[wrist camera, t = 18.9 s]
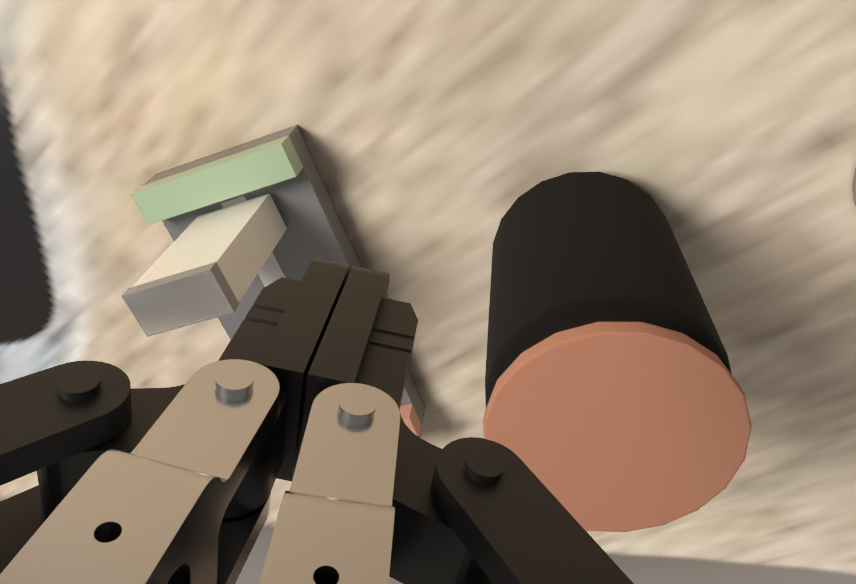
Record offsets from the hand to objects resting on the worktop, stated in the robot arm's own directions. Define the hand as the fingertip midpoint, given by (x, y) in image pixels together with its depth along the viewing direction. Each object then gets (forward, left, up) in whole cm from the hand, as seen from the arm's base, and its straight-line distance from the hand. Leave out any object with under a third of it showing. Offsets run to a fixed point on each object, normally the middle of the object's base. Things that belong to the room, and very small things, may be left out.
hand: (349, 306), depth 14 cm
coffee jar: (-10, +11, -29) cm, 33 cm away
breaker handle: (+10, +13, -27) cm, 31 cm away
